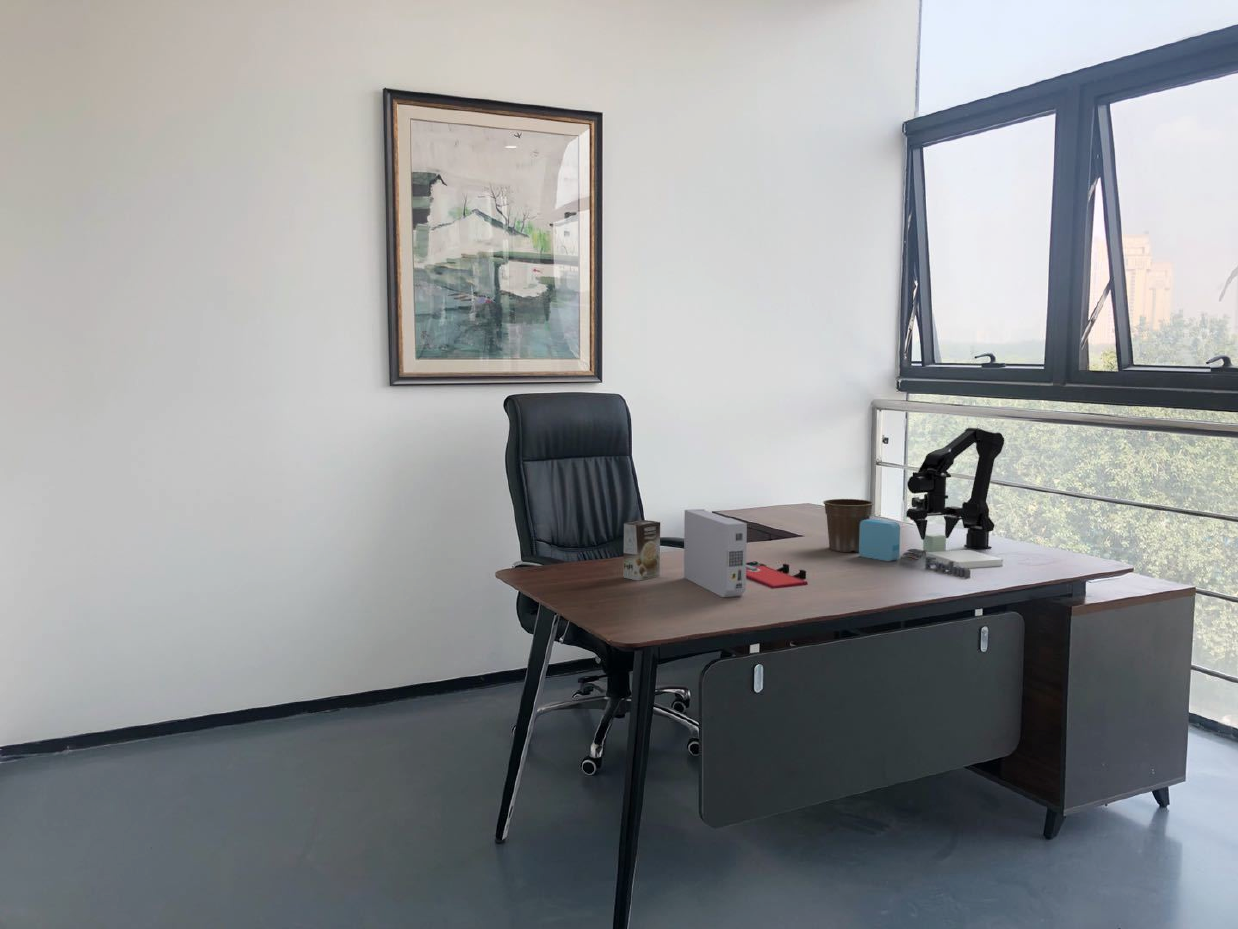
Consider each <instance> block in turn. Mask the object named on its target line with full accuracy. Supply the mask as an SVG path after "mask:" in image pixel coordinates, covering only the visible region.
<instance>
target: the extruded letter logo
mask: <svg viewBox="0 0 1238 929" xmlns="http://www.w3.org/2000/svg"><path fill="white" fill-rule="evenodd" d="M925 552H926V550H924V551H923V549H917V548H911V549H910V548H909V549H907V550H906V552H904V553H903V554H902V556H901V557H900V559H899V560H900V561H906V562H908V563H909V562H910V563H911V562H916V561H917V562H918V561H919V560H920V559H921V558H923V556H924V554H926V553H925ZM932 560H936V558H935V557H930V556H928V557H926V556H925V567H924V568H925V570H929V571H933V572H938V573H941V574H948V575H951V576H955V577H960V578H965V579H970V578H971V570H970V569H971V568H961V567H960V566H957V567H954V561H950V562H949V564H943V563H939V562H935V561H932ZM932 566H935V568H934V567H932Z"/></svg>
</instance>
